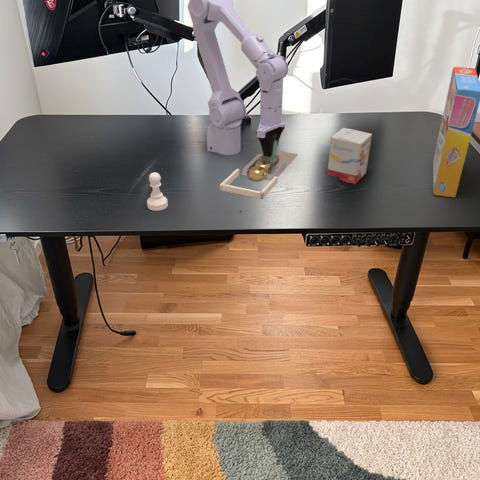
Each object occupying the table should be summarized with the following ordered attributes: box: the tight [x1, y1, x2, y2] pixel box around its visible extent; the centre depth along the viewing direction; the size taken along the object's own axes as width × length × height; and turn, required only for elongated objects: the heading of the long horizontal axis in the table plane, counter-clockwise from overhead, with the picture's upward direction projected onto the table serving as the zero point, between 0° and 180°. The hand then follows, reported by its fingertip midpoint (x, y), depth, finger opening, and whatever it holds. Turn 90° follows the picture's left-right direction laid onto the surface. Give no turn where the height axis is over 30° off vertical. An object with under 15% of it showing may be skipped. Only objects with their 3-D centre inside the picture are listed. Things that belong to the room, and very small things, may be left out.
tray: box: [219, 168, 279, 200], centre depth 134 cm, size 12×10×2 cm
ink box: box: [326, 127, 373, 185], centre depth 139 cm, size 9×9×12 cm
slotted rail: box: [239, 150, 299, 182], centre depth 145 cm, size 10×19×3 cm, turn 155°
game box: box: [432, 66, 480, 198], centre depth 132 cm, size 21×6×27 cm, turn 163°
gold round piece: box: [248, 166, 265, 182], centre depth 138 cm, size 4×4×2 cm
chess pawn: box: [146, 171, 169, 212], centre depth 125 cm, size 5×5×9 cm
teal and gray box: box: [258, 140, 279, 170], centre depth 143 cm, size 5×4×7 cm
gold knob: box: [255, 161, 270, 175], centre depth 141 cm, size 4×4×2 cm
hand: (269, 153), depth 143 cm, fingers closed on teal and gray box, 3 cm apart
